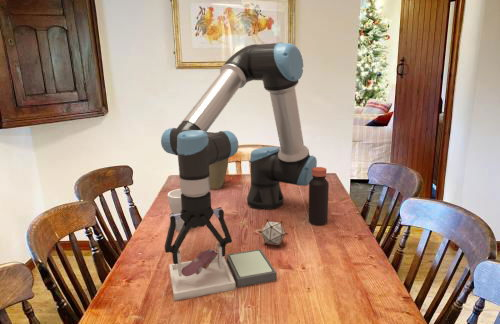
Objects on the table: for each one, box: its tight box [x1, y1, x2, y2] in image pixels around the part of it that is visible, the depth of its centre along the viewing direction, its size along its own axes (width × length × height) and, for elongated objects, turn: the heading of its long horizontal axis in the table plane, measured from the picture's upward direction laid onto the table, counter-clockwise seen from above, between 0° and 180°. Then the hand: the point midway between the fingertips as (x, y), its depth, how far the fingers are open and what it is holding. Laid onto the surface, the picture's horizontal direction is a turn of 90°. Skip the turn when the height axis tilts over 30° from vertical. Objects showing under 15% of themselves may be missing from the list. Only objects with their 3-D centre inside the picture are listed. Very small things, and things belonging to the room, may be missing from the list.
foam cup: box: [167, 188, 193, 232], centre depth 132 cm, size 10×9×13 cm
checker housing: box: [225, 248, 277, 289], centre depth 105 cm, size 11×14×2 cm
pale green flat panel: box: [230, 251, 273, 278], centre depth 105 cm, size 9×12×1 cm
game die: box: [258, 218, 288, 248], centre depth 120 cm, size 9×8×10 cm
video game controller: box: [182, 248, 217, 276], centre depth 101 cm, size 10×5×7 cm, turn 150°
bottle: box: [308, 166, 330, 226], centre depth 134 cm, size 7×7×20 cm
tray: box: [168, 256, 237, 302], centre depth 102 cm, size 16×15×2 cm
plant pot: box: [209, 157, 230, 190], centre depth 175 cm, size 15×15×16 cm
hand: (200, 270), depth 101 cm, fingers closed on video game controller, 10 cm apart
